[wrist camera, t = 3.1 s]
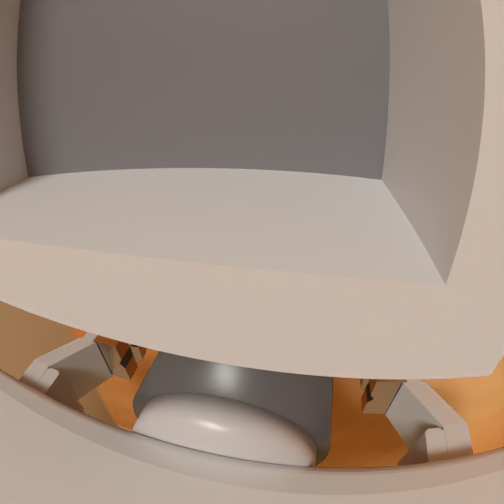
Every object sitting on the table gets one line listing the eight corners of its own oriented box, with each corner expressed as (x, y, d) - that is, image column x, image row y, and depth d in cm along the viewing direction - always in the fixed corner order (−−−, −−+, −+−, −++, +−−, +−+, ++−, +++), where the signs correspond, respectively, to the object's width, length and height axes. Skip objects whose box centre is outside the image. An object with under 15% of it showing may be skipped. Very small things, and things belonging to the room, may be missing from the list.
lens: (340, 233, 11) (352, 440, 4) (323, 334, 13) (309, 503, 7) (206, 222, 12) (88, 385, 5) (215, 321, 14) (151, 472, 7)
